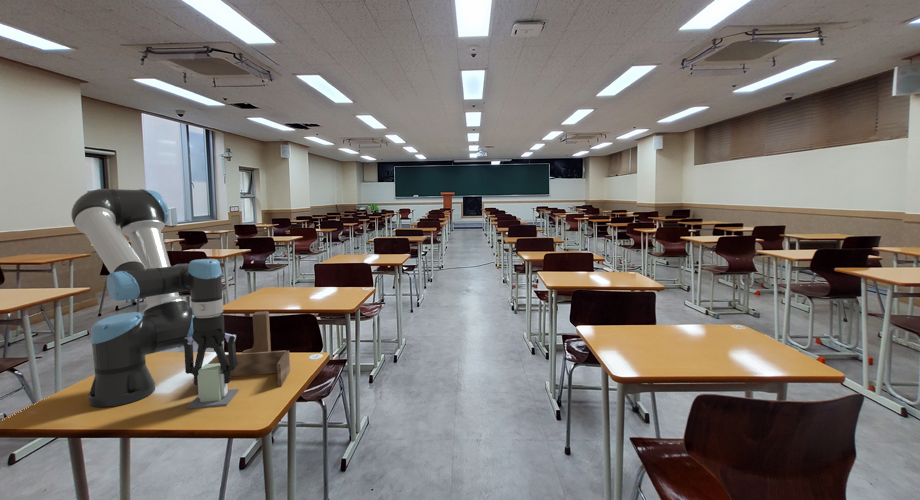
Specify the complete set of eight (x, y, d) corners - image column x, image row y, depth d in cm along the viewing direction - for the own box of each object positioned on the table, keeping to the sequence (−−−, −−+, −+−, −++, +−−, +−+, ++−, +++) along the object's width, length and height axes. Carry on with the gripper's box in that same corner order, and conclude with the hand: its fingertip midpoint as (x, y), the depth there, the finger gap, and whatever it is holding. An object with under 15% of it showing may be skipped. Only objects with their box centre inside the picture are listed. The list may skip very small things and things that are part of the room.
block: (200, 402, 120) (198, 370, 119) (207, 394, 124) (205, 364, 124) (219, 400, 120) (218, 369, 120) (226, 393, 125) (224, 362, 124)
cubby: (202, 392, 127) (200, 369, 126) (218, 376, 140) (217, 355, 139) (281, 386, 131) (280, 364, 130) (290, 370, 144) (289, 350, 143)
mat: (186, 408, 117) (186, 407, 117) (201, 393, 127) (201, 391, 126) (226, 405, 119) (226, 403, 118) (238, 390, 128) (238, 388, 128)
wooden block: (240, 367, 147) (237, 315, 146) (244, 362, 152) (241, 312, 150) (269, 364, 150) (266, 313, 148) (271, 360, 154) (268, 310, 152)
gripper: (165, 320, 115) (171, 404, 117) (238, 316, 118) (243, 398, 120) (178, 313, 122) (184, 392, 124) (247, 310, 125) (251, 387, 128)
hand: (213, 395), depth 122 cm, fingers open, 5 cm apart
